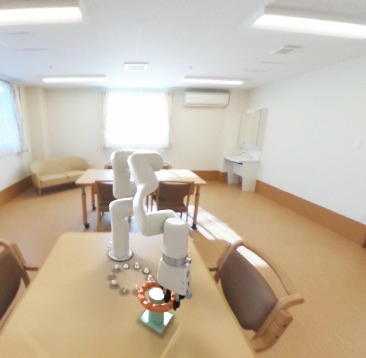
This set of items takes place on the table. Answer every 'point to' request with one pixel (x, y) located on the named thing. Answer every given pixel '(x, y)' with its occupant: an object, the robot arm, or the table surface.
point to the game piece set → (137, 268)
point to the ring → (149, 305)
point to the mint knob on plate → (153, 318)
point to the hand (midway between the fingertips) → (171, 305)
